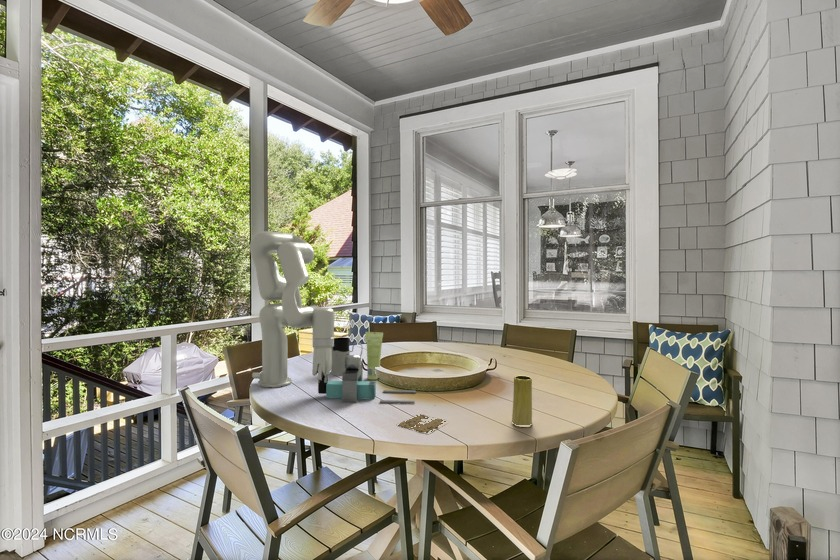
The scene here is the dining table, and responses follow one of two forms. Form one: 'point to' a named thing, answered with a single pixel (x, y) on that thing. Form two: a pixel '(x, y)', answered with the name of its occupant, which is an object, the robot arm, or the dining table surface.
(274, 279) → the robot arm
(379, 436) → the dining table surface
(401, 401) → the pair of grey rods
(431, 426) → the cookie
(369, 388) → the teal rectangular block
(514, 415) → the vase
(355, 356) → the housing
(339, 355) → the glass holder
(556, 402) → the dining table surface
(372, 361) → the tube
